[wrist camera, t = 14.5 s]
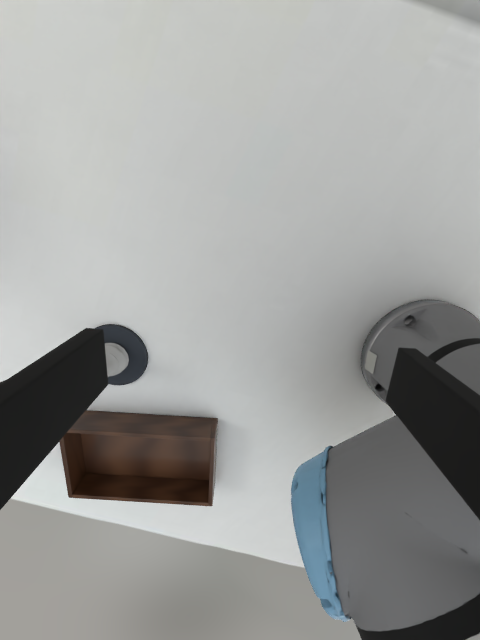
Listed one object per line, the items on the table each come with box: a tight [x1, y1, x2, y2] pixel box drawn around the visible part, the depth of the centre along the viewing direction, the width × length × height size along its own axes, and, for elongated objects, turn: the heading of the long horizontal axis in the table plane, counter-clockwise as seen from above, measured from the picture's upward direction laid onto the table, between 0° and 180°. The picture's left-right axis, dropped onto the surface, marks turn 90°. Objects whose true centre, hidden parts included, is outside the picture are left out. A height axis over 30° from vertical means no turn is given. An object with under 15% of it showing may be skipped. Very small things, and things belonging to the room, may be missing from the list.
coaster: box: [95, 324, 148, 385], centre depth 40 cm, size 9×9×1 cm
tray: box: [60, 410, 218, 506], centre depth 43 cm, size 21×12×4 cm, turn 87°
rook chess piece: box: [105, 343, 129, 377], centre depth 36 cm, size 4×4×8 cm
